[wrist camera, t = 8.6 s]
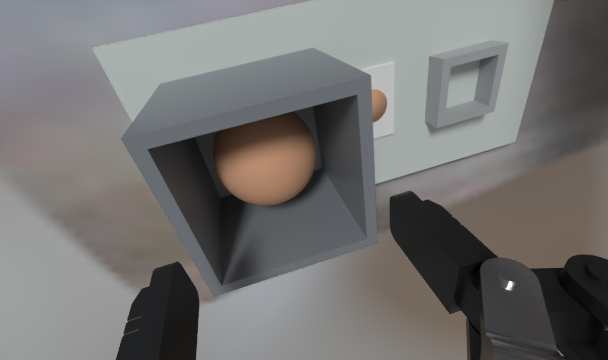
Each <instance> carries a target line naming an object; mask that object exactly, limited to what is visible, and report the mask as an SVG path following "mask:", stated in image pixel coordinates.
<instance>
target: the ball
mask: <svg viewBox="0 0 608 360" xmlns="http://www.w3.org/2000/svg"><path fill="white" fill-rule="evenodd" d="M213 161H214V166H215V170H216V172H217V175H218V177H219V179H220V181H221V182H222V183H223V185H224V186H225V187H226V188H227V189H228V191H229V192H231V193H232V194H233V195H234V196H236V197H237V198H239V199H241V200H243V201H245V202H247V203H251V204H255V205H262V206H270V205H276V204H280V203H283V202H286V201H288V200H290V199H291V198H293V197H295V196H296V195H297V194H298V193H299V192H301V191H302V190H303V189H304V187H305V186H306V185H307V183H308V182H309V180H310V178H311V176H312V174H313V171H314V168H315V164H316V146H315V142H314V138H313V136H312V133H311V131H310V129H309V128H308V126H307V125H306V123H305V122H304V121H303V120H302V119H301V118H300V117H299V116H298V115H297V114H296V113H294V112H293V111H292V112H289V113H285V114H281V115H277V116H273V117H269V118H266V119H262V120H258V121H254V122H250V123H246V124H242V125H239V126H235V127H231V128H227V129H223V130H219V131H218V133H217V135H216V138H215V141H214V147H213Z"/></svg>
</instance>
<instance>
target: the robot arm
mask: <svg viewBox="0 0 608 360" xmlns="http://www.w3.org/2000/svg"><path fill="white" fill-rule="evenodd" d="M390 229H391V233H392V235H393V237H394V239H395V241H396V242H397V243H398V245H399V246H400V247H401V249H402V250H403V252H404V253H405V254H406V256H407V257H408V258H409V260H410V261H411V262H412V264H413V265H414V266H415V268H416V269H417V270H418V272H419V273H420V275H421V276H422V277H423V279H424V280H425V281H426V283H427V284H428V285H429V287H430V288H431V289H432V291H433V292H434V293H435V295H436V296H437V297H438V299H439V300H440V301H441V303H442V304H443V305H444V307H445V308H446V310H447V311H448V312H449V314H451V313H455V312H457V311H460V310H461V311H462V312H463V313H464V314H465V316H466V317H467V321H466V330H467V359H468V360H608V330H607V329H608V260H607V259H604V258H601V257H597V256H592V255H576V256H573V257H571V258H569V259H568V261H567V262H566V264H565V266H564V268H541V269H529V268H528V267H526V266H525V265H523V264H521V263H519V262H517V261H515V260H512V259H508V258H499V257H497V256H496V255H495V254H493V252H491V251H490V250H489V249H488V248H487V247H486V246H485V245H484V244H483V243H482V242H481V241H479V240H478V239H477V238H476V237H475V236H474V235H473V234H472V233H471V232H470V231H468V230H467V229H466V228H465V227H464V226H463V225H461V224H460V222H458V221H457V220H456V219H455V218H454V217H452V215H451V214H450V213H449V212H448V211H447V210H445V209H444V208H443V207H442V206H441V205H438V204H436V203H434V202H432V201H430V200H425V201H422V200H421V199H420V198H419V197H418V196H417V195H416V194H415V193H413V192H412V191H407V192H404V193H401V194H398V195H394V196H391V198H390ZM198 317H199V296H198V292H197V289H196V287H195V286H194V284H193V282H192V281H191V279H190V278H189V276H188V275H187V273H186V271H185V270H184V268H183V267H182V265H181V264H180V263H179V262H175V263H172V264H168V265H165V266H162V267H159V268H156V269H154V271H153V274H152V278H151V282H150V286H149V287H146V288H143V289H141V291H140V292H139V294H138V295H137V297H136V299H135V300H134V302H133V303H132V305H131V309H130V312H129V316H128V319H127V320H128V323H126V326H125V330H124V336H123V337H122V340H121V344H120V347H119V351H118V354H117V358H116V360H196V348H197V333H198ZM557 349H558V350H559V351H560V352H561V353H562V354H563V355H564V356H561V355H560V354H559V352H558V350H557Z"/></svg>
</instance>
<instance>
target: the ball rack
mask: <svg viewBox="0 0 608 360" xmlns="http://www.w3.org/2000/svg"><path fill="white" fill-rule="evenodd" d="M553 3H554V0H308V1H304V2H299V3H294V4H290V5H285V6H280V7H276V8H271V9H267V10H262V11H257V12H253V13H248V14H243V15H239V16H234V17H229V18H225V19H220V20H215V21H211V22H206V23H202V24H197V25H192V26H188V27H183V28H178V29H174V30H169V31H164V32H160V33H155V34H150V35H146V36H141V37H137V38H132V39H127V40H123V41H118V42H113V43H109V44H104V45H99V46H96V47H94V48H92V49H93V51H94V53H95V54H96V56H97V58H98V60H99V62H100V64H101V66H102V67H103V69H104V71H105V73H106V75H107V77H108V78H109V80H110V82H111V84H112V86H113V88H114V89H115V91H116V93H117V95H118V97H119V99H120V100H121V102H122V104H123V106H124V108H125V110H126V111H127V113H128V115H129V117H130V119H131V121H132V124H131V125H130V127H129V128H128V129H127V131H126V132H125V134H124V135H123V136H122V138H121V139H122V141H123V143H124V145H125V146H126V148H127V150H128V151H129V153H130V155H131V156H132V158H133V160H134V162H135V163H136V165H137V167H138V168H139V170H140V172H141V173H142V175H143V177H144V179H145V180H146V182H147V184H148V185H149V187H150V189H151V190H152V192H153V194H154V196H155V197H156V199H157V201H158V202H159V204H160V206H161V207H162V209H163V211H164V212H165V214H166V216H167V218H168V219H169V221H170V223H171V224H172V226H173V228H174V229H175V231H176V233H177V235H178V236H179V238H180V240H181V241H182V243H183V245H184V246H185V248H186V250H187V252H188V253H189V255H190V257H191V258H192V260H193V262H194V263H195V265H196V267H197V269H198V270H199V272H200V274H201V275H202V277H203V279H204V280H205V282H206V284H207V286H208V287H209V289H210V291H211V292H212V294H213V296H217V295H220V294H224V293H227V292H230V291H233V290H236V289H239V288H242V287H245V286H248V285H251V284H254V283H257V282H260V281H263V280H266V279H269V278H272V277H276V276H279V275H282V274H285V273H288V272H291V271H294V270H297V269H300V268H303V267H306V266H309V265H312V264H315V263H318V262H321V261H324V260H327V259H331V258H334V257H337V256H340V255H343V254H346V253H349V252H352V251H355V250H358V249H361V248H364V247H367V246H370V245H373V244H376V243H377V218H376V191H375V184H377V183H381V182H384V181H387V180H391V179H394V178H397V177H401V176H404V175H407V174H410V173H414V172H417V171H420V170H424V169H427V168H430V167H434V166H437V165H440V164H444V163H447V162H450V161H454V160H457V159H460V158H464V157H467V156H470V155H474V154H477V153H480V152H483V151H487V150H490V149H493V148H497V147H500V146H503V145H507V144H510V143H513V142H516V138H517V134H518V131H519V127H520V123H521V120H522V116H523V112H524V109H525V105H526V101H527V98H528V94H529V90H530V87H531V83H532V79H533V76H534V72H535V68H536V65H537V61H538V57H539V54H540V50H541V47H542V43H543V39H544V36H545V32H546V28H547V25H548V21H549V17H550V14H551V10H552V6H553ZM292 111H293V112H294V113H296V114H297V115H298V116H299V117H300V118H301V119H302V120H303V121H304V122H305V123H306V125H307V126H308V128H309V129H310V131H311V133H312V136H313V138H314V142H315V146H316V164H315V168H314V171H313V174H312V176H311V178H310V180H309V182H308V183H307V185H306V186H305V187H304V189H303V190H302V191H301V192H299V193H298V194H297V195H296V196H295V197H293V198H291V199H290V200H288V201H286V202H283V203H280V204H276V205H270V206H262V205H255V204H251V203H247V202H245V201H243V200H241V199H239V198H237V197H236V196H234V195H233V194H232V193H231V192H229V191H228V189H227V188H226V187H225V186H224V185H223V183H222V182H221V181H220V179H219V177H218V175H217V172H216V170H215V166H214V161H213V147H214V141H215V138H216V135H217V133H218V131H219V130H223V129H227V128H231V127H235V126H239V125H242V124H246V123H250V122H254V121H258V120H262V119H266V118H269V117H273V116H277V115H281V114H285V113H289V112H292Z"/></svg>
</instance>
